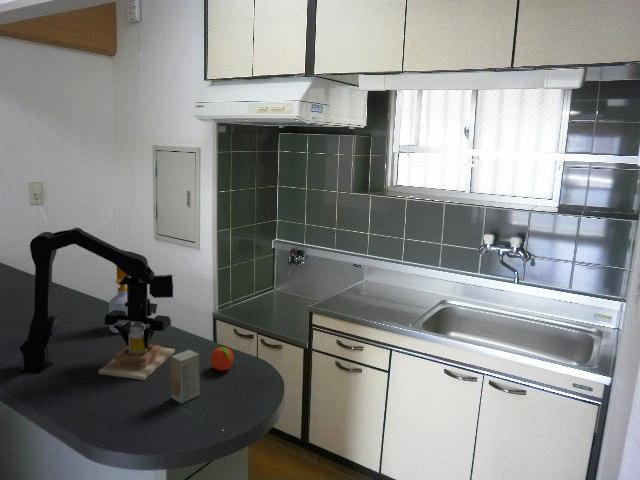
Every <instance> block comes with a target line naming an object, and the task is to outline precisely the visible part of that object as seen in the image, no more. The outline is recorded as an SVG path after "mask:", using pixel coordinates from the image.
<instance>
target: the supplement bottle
mask: <svg viewBox="0 0 640 480" xmlns="http://www.w3.org/2000/svg"><path fill="white" fill-rule="evenodd" d="M145 329H146V324H139V323H134V324H132V325H131V331H130V332H129V354H134V355H141V356H144V355H145V354H146V353H147V352H148V351H147V349H145V344H144V330H145Z"/></svg>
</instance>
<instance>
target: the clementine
mask: <svg viewBox="0 0 640 480" xmlns="http://www.w3.org/2000/svg"><path fill="white" fill-rule="evenodd" d="M233 353H234V352H233V351H232V350H231V349H230V348H229V347H226V346H220V347H217V348H214V350H213V351H212V352H211V354H210V359H209V360H210V364H211V366H212V367H213V368H214V369H215V370H217V371H222V370H223V371H226V370H228V369H229V368H231V366H232V365H233V363H234V357H235V356H234V354H233Z"/></svg>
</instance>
